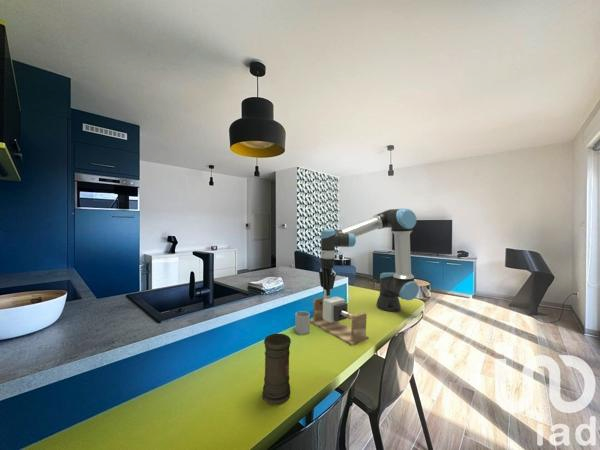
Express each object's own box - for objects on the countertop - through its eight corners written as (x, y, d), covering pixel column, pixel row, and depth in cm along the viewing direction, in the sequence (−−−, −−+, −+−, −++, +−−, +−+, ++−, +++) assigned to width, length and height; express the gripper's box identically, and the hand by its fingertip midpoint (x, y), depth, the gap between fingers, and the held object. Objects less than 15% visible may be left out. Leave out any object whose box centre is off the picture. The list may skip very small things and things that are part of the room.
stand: (310, 322, 134) (310, 299, 133) (326, 317, 141) (326, 296, 140) (351, 345, 109) (352, 318, 109) (368, 338, 116) (369, 312, 116)
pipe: (318, 305, 135) (318, 300, 135) (321, 304, 137) (322, 299, 137) (356, 323, 113) (357, 317, 113) (361, 322, 114) (361, 316, 114)
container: (266, 408, 72) (268, 348, 71) (259, 389, 80) (260, 335, 80) (294, 400, 75) (296, 343, 75) (284, 382, 83) (286, 330, 83)
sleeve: (322, 318, 127) (323, 299, 127) (336, 314, 133) (336, 296, 132) (330, 322, 122) (330, 302, 122) (344, 318, 128) (344, 299, 128)
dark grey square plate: (333, 320, 122) (334, 305, 122) (344, 317, 126) (344, 302, 126) (336, 321, 120) (336, 306, 120) (347, 318, 125) (347, 303, 124)
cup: (299, 335, 118) (299, 317, 117) (290, 327, 126) (290, 310, 126) (312, 333, 121) (312, 315, 121) (302, 325, 130) (302, 308, 130)
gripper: (314, 256, 135) (313, 298, 135) (330, 260, 124) (329, 305, 124) (324, 255, 139) (323, 296, 139) (341, 259, 128) (339, 303, 129)
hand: (326, 300), depth 132 cm, fingers closed
